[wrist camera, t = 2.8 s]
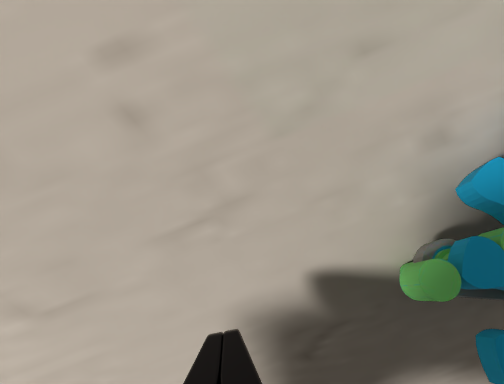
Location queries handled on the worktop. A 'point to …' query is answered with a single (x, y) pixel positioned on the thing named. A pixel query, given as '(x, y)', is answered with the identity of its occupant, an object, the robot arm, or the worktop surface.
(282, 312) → the worktop surface
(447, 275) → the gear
